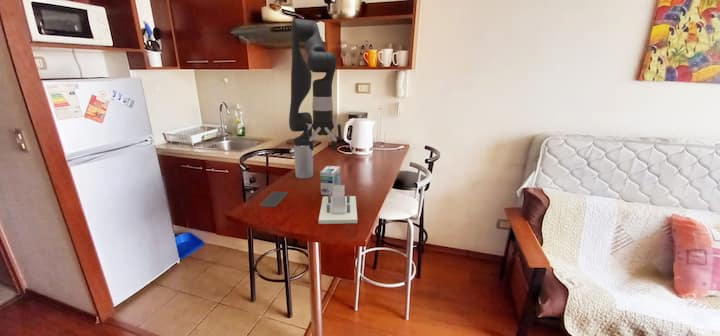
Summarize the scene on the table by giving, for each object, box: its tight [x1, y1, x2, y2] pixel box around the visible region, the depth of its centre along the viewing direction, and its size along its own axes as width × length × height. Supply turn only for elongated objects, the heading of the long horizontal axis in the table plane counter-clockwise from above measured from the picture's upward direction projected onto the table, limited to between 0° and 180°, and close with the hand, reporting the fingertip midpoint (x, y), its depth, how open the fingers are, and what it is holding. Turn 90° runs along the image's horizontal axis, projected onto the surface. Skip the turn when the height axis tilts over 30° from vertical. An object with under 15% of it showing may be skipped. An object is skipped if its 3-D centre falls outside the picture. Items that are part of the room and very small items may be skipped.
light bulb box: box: [319, 165, 342, 196], centre depth 139 cm, size 11×7×11 cm, turn 168°
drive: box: [331, 184, 346, 214], centre depth 119 cm, size 12×5×7 cm, turn 2°
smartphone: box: [258, 191, 288, 208], centre depth 131 cm, size 7×1×15 cm
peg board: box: [318, 194, 358, 225], centre depth 120 cm, size 22×14×4 cm, turn 3°
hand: (323, 150), depth 119 cm, fingers open, 8 cm apart
